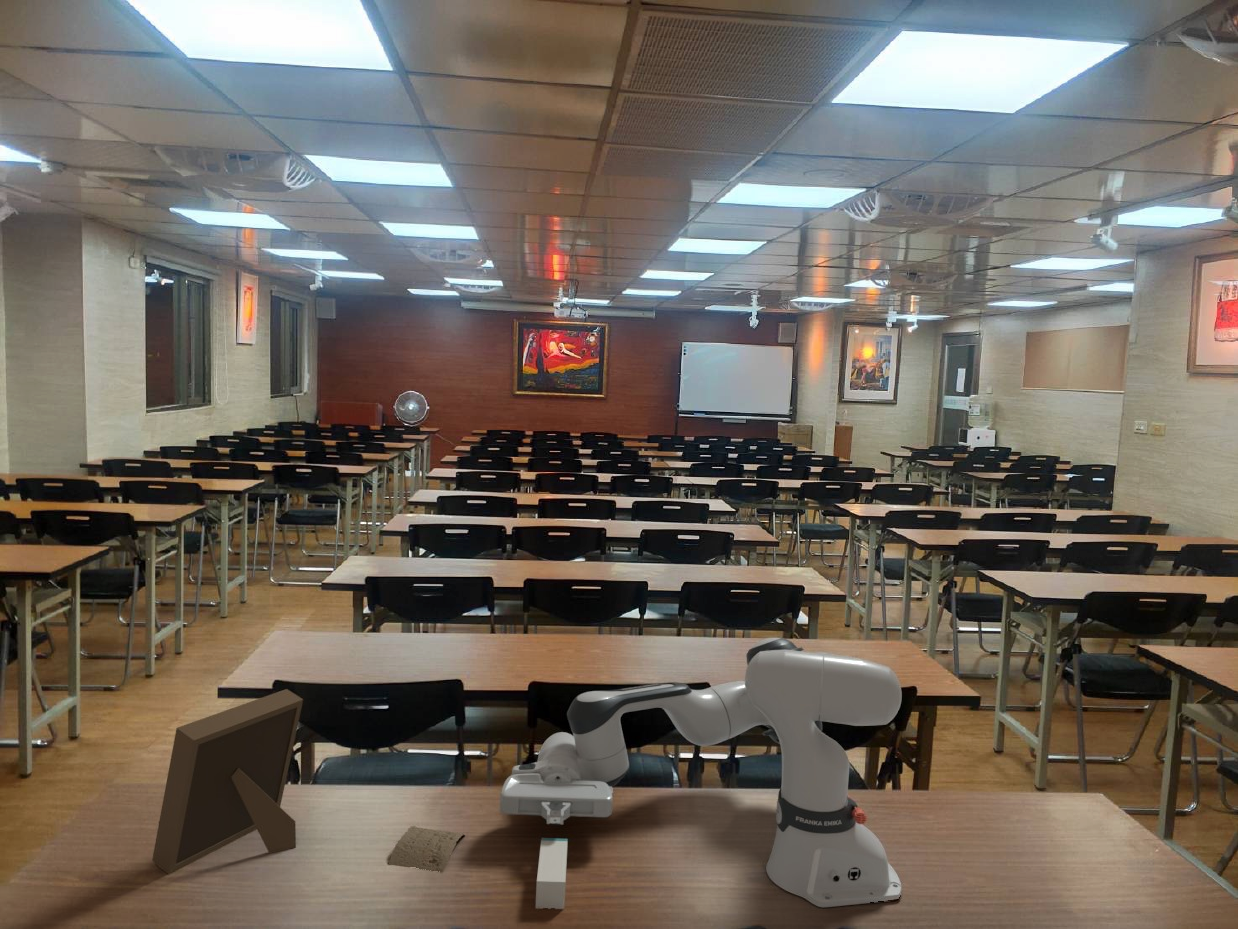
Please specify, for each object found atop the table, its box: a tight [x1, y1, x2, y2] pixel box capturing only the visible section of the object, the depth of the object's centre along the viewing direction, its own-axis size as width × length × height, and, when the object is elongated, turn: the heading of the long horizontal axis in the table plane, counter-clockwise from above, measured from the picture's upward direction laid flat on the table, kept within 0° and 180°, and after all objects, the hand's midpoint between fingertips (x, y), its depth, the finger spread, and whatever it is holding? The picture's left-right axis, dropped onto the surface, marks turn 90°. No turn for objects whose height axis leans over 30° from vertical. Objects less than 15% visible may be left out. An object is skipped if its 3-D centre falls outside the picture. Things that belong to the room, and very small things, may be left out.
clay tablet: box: [388, 825, 464, 874], centre depth 151 cm, size 15×10×3 cm
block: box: [535, 837, 569, 910], centre depth 142 cm, size 4×4×13 cm
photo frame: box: [151, 688, 304, 875], centre depth 147 cm, size 15×22×25 cm
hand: (555, 820), depth 148 cm, fingers closed
